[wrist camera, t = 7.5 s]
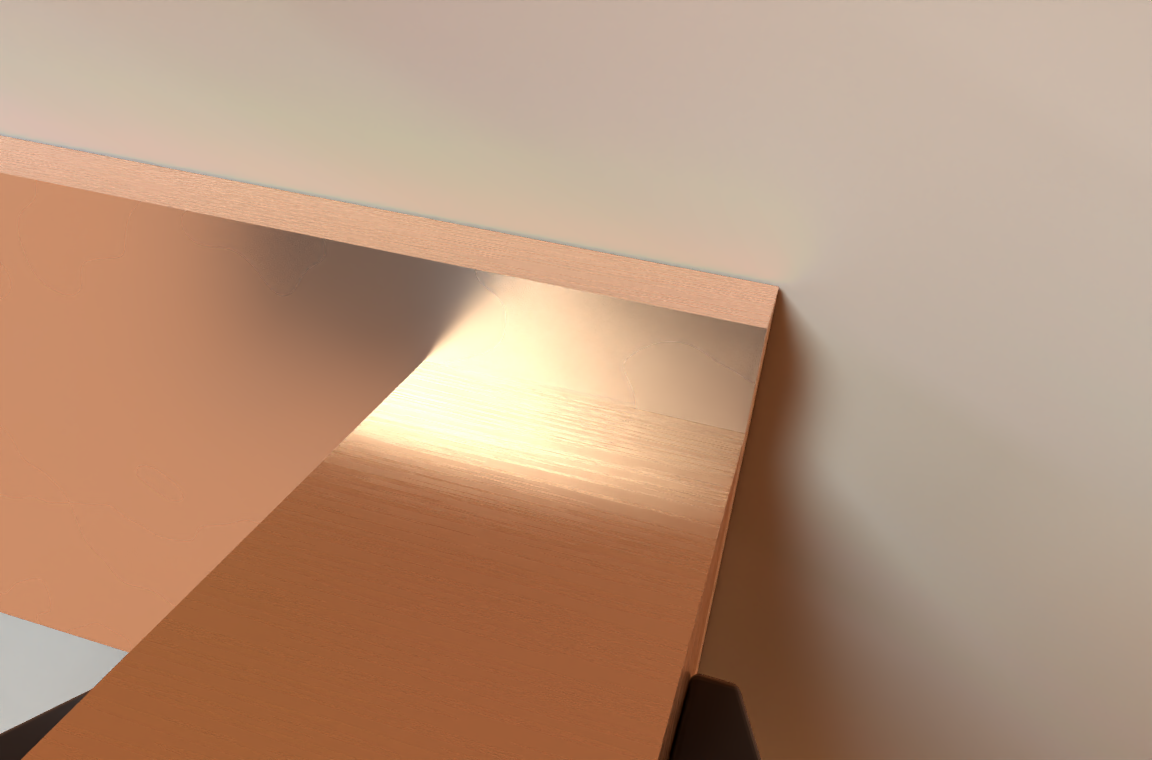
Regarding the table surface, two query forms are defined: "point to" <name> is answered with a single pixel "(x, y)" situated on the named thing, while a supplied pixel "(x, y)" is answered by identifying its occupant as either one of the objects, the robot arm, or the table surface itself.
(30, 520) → the copper plank with block
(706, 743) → the robot arm
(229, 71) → the table surface
